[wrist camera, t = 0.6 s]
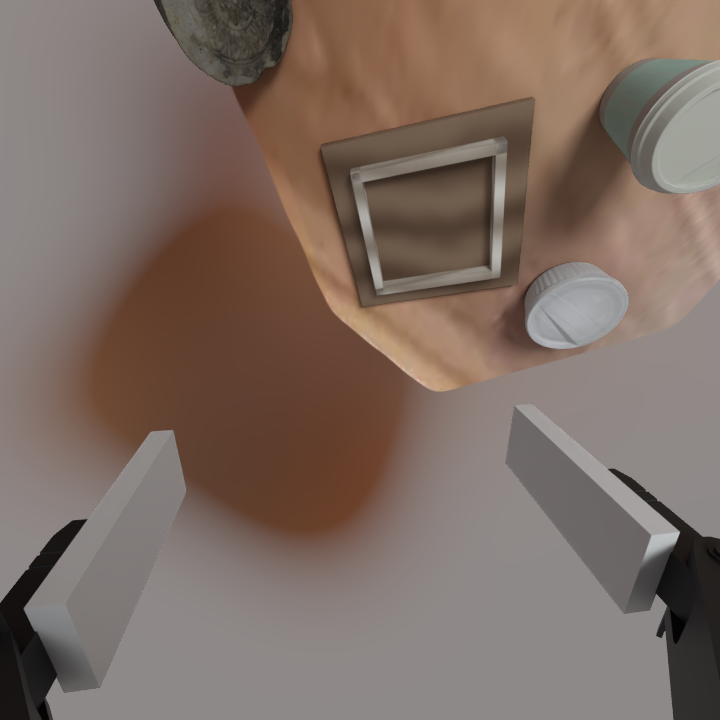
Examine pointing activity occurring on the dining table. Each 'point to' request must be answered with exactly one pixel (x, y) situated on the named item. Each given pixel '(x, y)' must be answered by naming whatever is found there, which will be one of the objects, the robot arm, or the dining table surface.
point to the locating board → (434, 202)
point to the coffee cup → (667, 122)
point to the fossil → (230, 35)
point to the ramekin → (573, 305)
